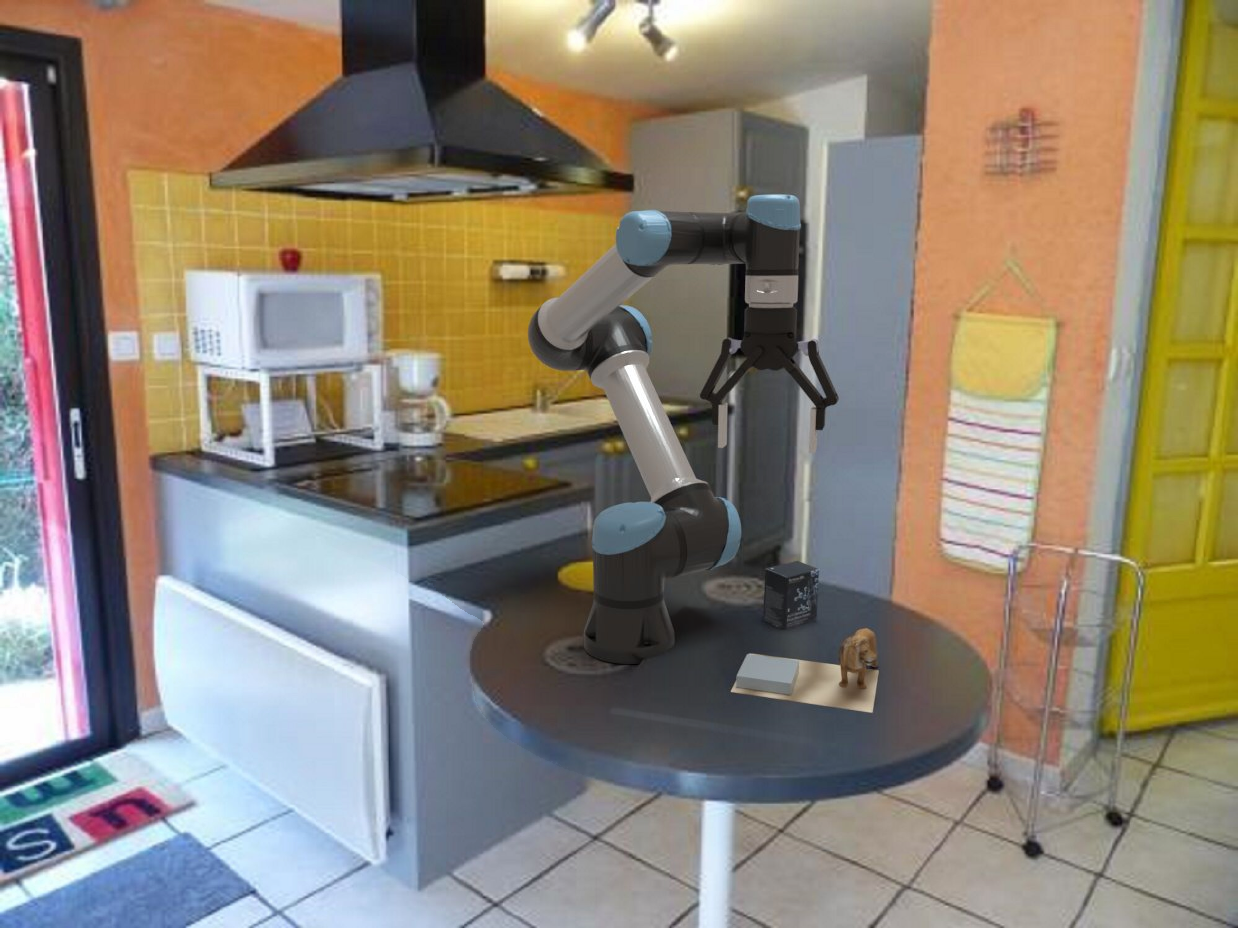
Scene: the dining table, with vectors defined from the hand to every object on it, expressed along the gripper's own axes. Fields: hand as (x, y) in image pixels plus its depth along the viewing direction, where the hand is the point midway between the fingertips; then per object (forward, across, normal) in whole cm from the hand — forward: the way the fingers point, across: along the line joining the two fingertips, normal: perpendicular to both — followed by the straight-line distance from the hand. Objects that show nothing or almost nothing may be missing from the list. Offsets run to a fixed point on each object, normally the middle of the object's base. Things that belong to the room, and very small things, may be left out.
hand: (766, 449), depth 136 cm
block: (+33, +2, -4) cm, 33 cm away
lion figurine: (+34, +16, -3) cm, 37 cm away
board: (+35, +8, -6) cm, 36 cm away
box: (+35, +2, +17) cm, 39 cm away
